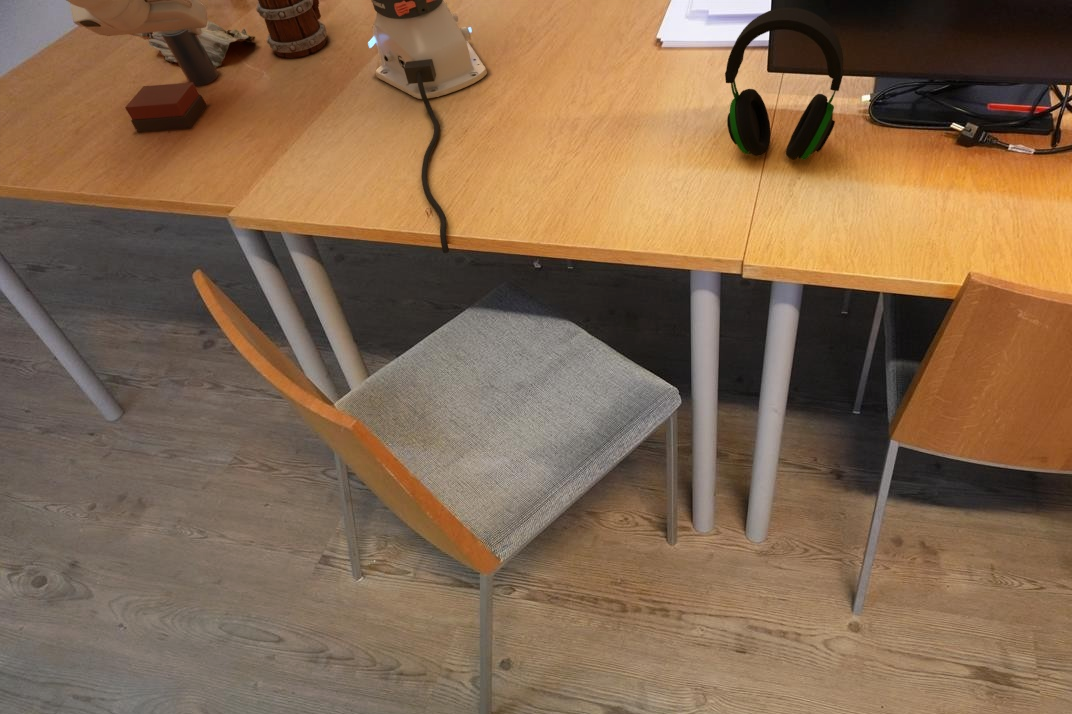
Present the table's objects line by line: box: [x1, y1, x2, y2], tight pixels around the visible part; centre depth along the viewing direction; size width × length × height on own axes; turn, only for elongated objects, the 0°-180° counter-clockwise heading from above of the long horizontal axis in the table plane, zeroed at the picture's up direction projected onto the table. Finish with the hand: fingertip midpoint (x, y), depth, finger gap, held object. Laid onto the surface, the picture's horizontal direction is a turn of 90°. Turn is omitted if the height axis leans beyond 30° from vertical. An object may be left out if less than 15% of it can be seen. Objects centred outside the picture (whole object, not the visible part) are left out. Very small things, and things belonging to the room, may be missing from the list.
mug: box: [255, 0, 328, 59], centre depth 152 cm, size 12×14×15 cm
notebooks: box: [124, 82, 208, 133], centre depth 138 cm, size 8×10×5 cm
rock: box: [147, 20, 256, 69], centre depth 156 cm, size 23×7×15 cm
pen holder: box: [160, 29, 219, 87], centre depth 146 cm, size 6×6×10 cm
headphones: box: [724, 6, 845, 161], centre depth 107 cm, size 9×16×20 cm, turn 71°
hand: (173, 33), depth 141 cm, fingers open, 8 cm apart
